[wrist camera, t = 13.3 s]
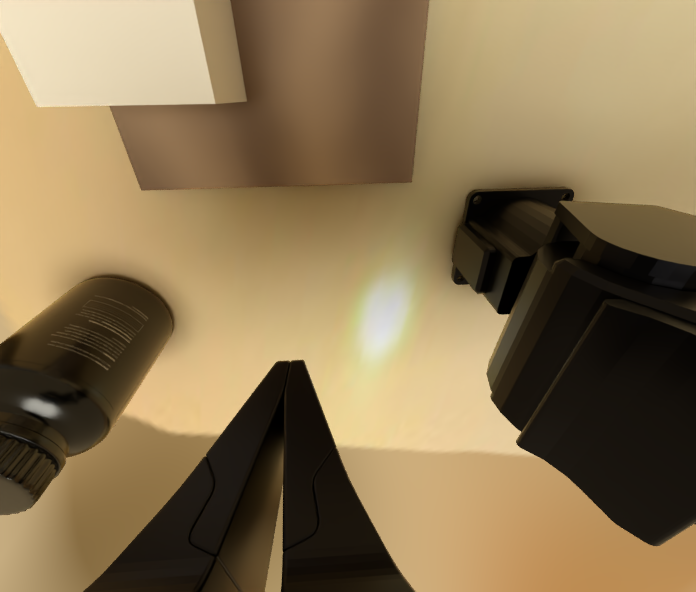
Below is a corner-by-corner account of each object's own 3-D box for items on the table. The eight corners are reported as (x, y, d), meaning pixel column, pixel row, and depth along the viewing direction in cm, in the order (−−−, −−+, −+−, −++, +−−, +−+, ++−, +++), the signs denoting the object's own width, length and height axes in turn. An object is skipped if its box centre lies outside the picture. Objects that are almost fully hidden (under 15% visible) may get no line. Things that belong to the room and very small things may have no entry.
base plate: (445, -249, 10) (455, -279, 10) (407, 178, 18) (411, 182, 17) (-10, -260, 10) (-41, -292, 9) (150, 185, 18) (141, 190, 17)
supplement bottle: (48, 288, 21) (-208, 465, 11) (138, 262, 20) (-48, 426, 10) (116, 357, 25) (-29, 537, 15) (193, 337, 24) (97, 512, 14)
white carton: (215, -87, 12) (150, -194, 7) (247, 101, 15) (214, 104, 11) (51, -88, 11) (-116, -199, 7) (120, 103, 15) (34, 107, 10)
